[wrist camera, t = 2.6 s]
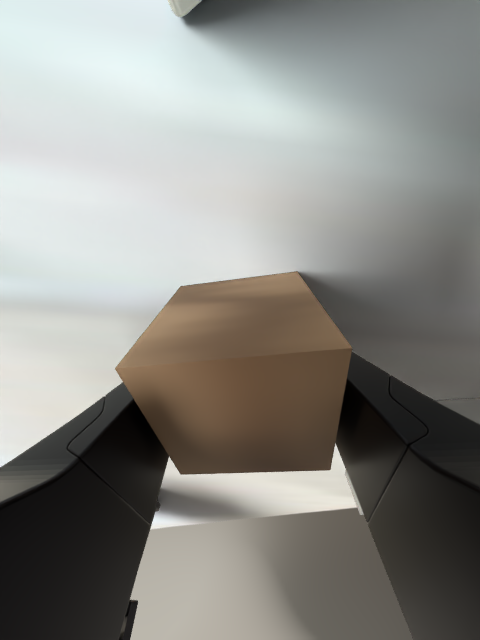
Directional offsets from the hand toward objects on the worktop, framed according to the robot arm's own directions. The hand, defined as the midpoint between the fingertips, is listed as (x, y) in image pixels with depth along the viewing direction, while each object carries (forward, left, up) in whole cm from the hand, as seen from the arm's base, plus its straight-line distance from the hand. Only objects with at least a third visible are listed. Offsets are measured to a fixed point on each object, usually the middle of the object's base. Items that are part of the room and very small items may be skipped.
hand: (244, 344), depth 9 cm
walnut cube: (0, 0, -1) cm, 1 cm away
